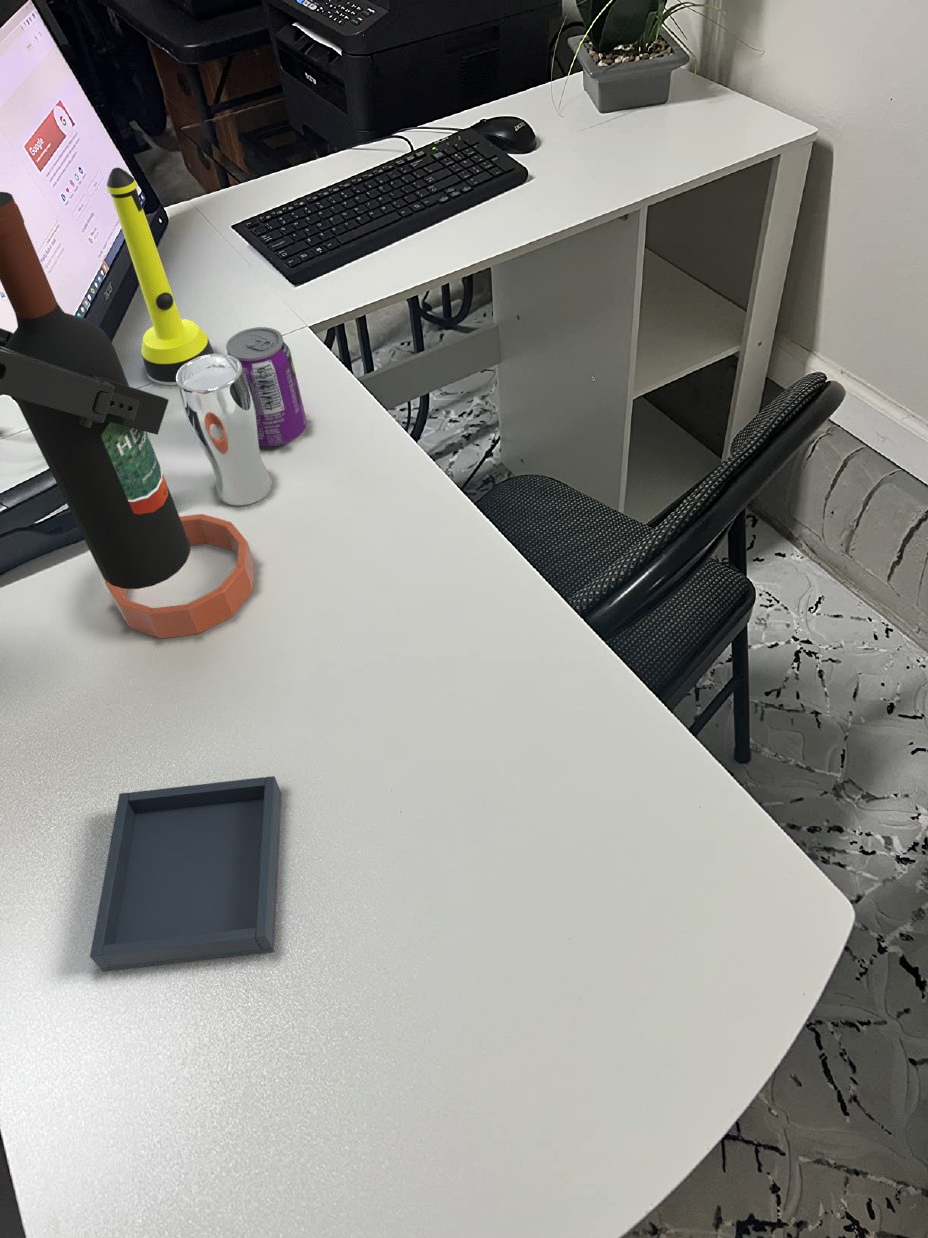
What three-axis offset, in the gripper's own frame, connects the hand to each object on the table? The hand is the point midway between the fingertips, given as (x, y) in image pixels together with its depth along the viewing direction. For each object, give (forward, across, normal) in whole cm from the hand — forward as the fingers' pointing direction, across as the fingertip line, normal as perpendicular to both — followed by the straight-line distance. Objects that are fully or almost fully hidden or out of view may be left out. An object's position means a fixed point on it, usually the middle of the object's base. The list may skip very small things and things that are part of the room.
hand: (121, 399), depth 73 cm
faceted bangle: (+21, -7, -17) cm, 28 cm away
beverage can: (+38, -16, 0) cm, 41 cm away
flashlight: (+41, -37, +3) cm, 56 cm away
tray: (+5, +17, -32) cm, 37 cm away
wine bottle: (+7, 0, -12) cm, 14 cm away
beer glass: (+31, -13, -7) cm, 34 cm away
